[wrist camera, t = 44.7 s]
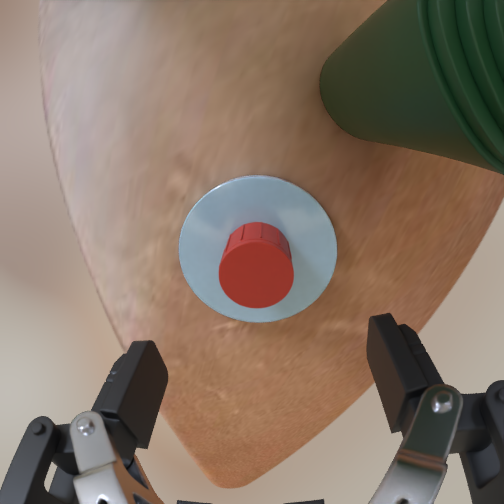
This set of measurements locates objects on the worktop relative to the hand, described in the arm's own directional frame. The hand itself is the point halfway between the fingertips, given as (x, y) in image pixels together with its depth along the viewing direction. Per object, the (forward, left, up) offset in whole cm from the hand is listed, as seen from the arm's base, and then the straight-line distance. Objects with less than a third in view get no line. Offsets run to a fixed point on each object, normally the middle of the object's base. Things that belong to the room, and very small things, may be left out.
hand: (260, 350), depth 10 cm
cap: (0, 0, -9) cm, 9 cm away
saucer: (0, 0, -10) cm, 10 cm away
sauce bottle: (-9, +8, -10) cm, 15 cm away
